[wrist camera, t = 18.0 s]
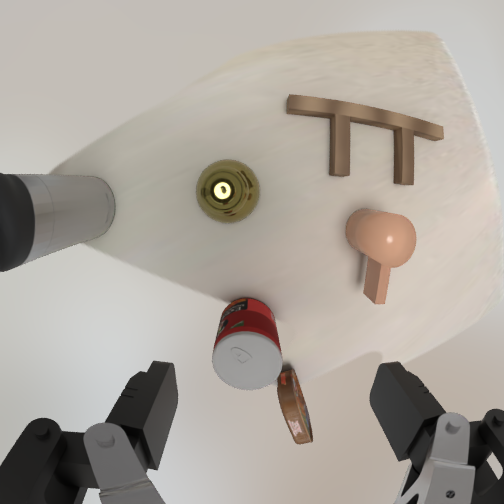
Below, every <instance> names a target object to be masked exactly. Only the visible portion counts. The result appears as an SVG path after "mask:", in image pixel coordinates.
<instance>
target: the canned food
mask: <svg viewBox="0 0 504 504" xmlns="http://www.w3.org/2000/svg"><path fill="white" fill-rule="evenodd" d="M212 363H213V368H214V370H215V372H216V373H217V375H218V377H219V378H220V379H221V380H222V381H224V382H225V383H227V384H228V385H230V386H232V387H234V388H238V389H242V390H256V389H261V388H263V387H266V386H268V385H270V384H271V383H272V382H274V381H275V380H276V379H277V377H278V376H279V374H280V372H281V369H282V353H281V348H280V343H279V337H278V333H277V327H276V322H275V318H274V315H273V313H272V312H271V310H270V309H269V308H268V307H267V306H266V305H265V304H263V303H262V302H260V301H258V300H255V299H250V298H243V299H239V300H236V301H234V302H232V303H231V304H229V305H228V306H227V307H226V308H225V310H224V311H223V313H222V316H221V320H220V324H219V328H218V332H217V336H216V341H215V345H214V350H213V356H212Z"/></svg>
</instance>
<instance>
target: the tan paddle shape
mask: <svg viewBox="0 0 504 504" xmlns="http://www.w3.org/2000/svg"><path fill="white" fill-rule="evenodd" d="M346 238H347V240H348V242H349V244H350V245H351V246H352V247H353V248H354V249H356V250H358V251H360V252H361V253H363V254H365V255H367V256H368V263H367V271H366V278H365V285H364V292H363V293H364V294H365V295H366V296H367V297H368V298H369V299H370V300H371V301H372V302H373V303H374V304H385V300H386V294H387V288H388V282H389V276H390V269H391V268H395V267H399V266H401V265H403V264H404V263H406V262H407V261H408V260H409V259H410V257H411V256H412V254H413V252H414V250H415V246H416V232H415V229H414V226H413V224H412V223H411V221H410V220H409V219H407V218H406V217H404V216H402V215H398V214H393V213H387V212H382V211H376V210H370V209H361V210H358V211H356V212H354V213H353V214H352V215H351V216H350V218H349V219H348V221H347V224H346Z"/></svg>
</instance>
